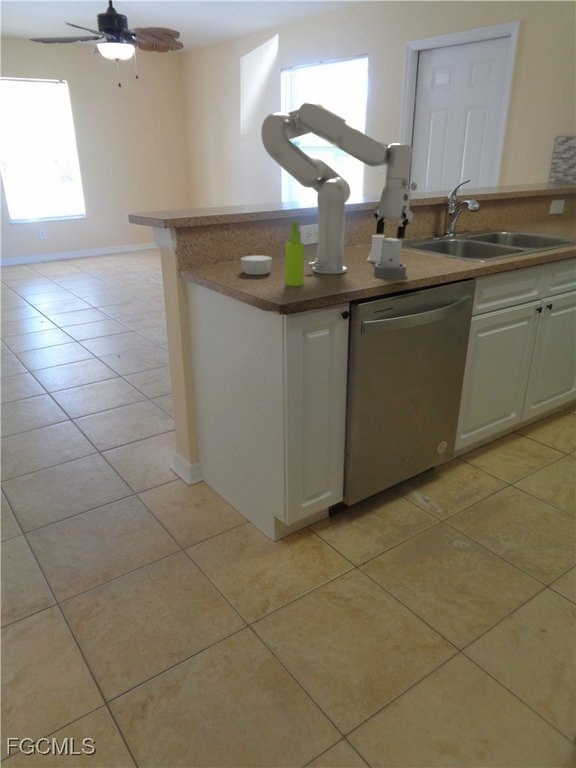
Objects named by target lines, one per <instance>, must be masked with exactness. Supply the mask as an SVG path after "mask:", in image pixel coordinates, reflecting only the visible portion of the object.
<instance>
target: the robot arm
mask: <svg viewBox="0 0 576 768" xmlns="http://www.w3.org/2000/svg"><path fill="white" fill-rule="evenodd" d="M310 133H312V134H314V135H315V136H318V137H319V138H321V139H322V140H324V141H325V142H327V143H329V144H330V145H332V146H334V147H335V148H337V149H339V150H341V151H343V152H344V153H346V154H348V155H349V156H351V157H352V158H354V159H356V160H358V161H360V162H362V163H363V164H365V165H366V166H370V167H374V168H375V167H381V166H386V170H385V171H386V174H385V181H384V186H383V188H382V192H381V196H380V199H379V204H378V205H376V206H375V207H373V213H374V214H373V215H374V218H375V222H377V223H376V230H375V231H376V232H375V233H376V234H375V235H383V234H384V233H385V232H384V231H385V223H386V222H385V220H386V219H389V220H390V219H391V220H394V221H395V220H396V221H397V223H398V224H399V225H398V226H397V233H396V239H404V238H405V236H406V228H407V227H408V226H409V224H410V222H412V219H413V217H414V213H413V212H412V211H411V210H410V189H409V188H408V187H409V186H410V181H409V177H410V170H411V162H412V156H413V147H412V145H411V144H407V143H386V142H381V141H378V140H375V139H374V138H372V137H370V136H368V135H367V134H364V133H363V132H361V131H359V129H356V127H354V126H353V125H352V124H351V123H350V122H349V121H348V120H346V119H345V118H342V117H341V116H339V115H337V114H335V113H334V112H332V111H330V110H328V109H327V108H325V107H324V106H323V105H322V104H319V103H317V102H314V101H305V102H304V103H302V104H301V106H300V107H299V108H298V109H296V110H293V111H289V112H286V113H283V112H273V113H269V114H268V115H267V116H266V117H265V118H264V120H263V122H262V125H261V133H260V135H261V142H262V145H263V147H264V150H265V151H266V153H267V154H268V155H269V157H270V158H272V159H273V161H274V162H276V164H278V165H279V166H280V167H281V168H282V169H283V170H284V171H285V172H287V173H288V174H289V175H290V176H291V177H292V178H294V180H296V181H297V183H299V184H300V185H301V186H303V187H305V188H309V189H310V188H312V189H313V190H315V192H317V214H318V215H317V249H316V250H317V251H316V252H317V253H316V254H317V255H316V258H314V261H313V262H312V261H311V262H310V261H309V262H307V263H306V267H307V268H308V269H311V268H312V271H313V272H315V273H318V274H324V275H337V274H344V273H347V271H348V268H347V266H344V252H345V250H344V249H345V226H346V203H347V201H348V200H349V199H350V196H351V186H350V185H349V183H348V182H347V180H345V179H344V178H343V177H342V176H341V175H339V173H337V171H335V170H334V169H333V168H332V167H330V166H329V165H328V164H327V163H326V162H325V161H322V159H319V158H316V157H315V158H314V157H310V156H309V155H308V154H306V153H305V152H304V151H303V150H302V149H301V148H300V147H299V146H297V145H296V144H294V143H293V142H292V141H291V140H292V139H296V138H298V137H301V136H304V135H308V134H310Z"/></svg>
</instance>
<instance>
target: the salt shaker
mask: <svg viewBox="0 0 576 768" xmlns="http://www.w3.org/2000/svg"><path fill="white" fill-rule="evenodd" d="M371 237H372V238H371V239H372V242H371V243H372V244H371V249H370V251H369V255H368V257H367V258H366V259H367V260H366V261H367V262H368V263H372V262H373V263H374V264H375V263H380V259H381V249H382V240H383V239H385V235H383V234H373V235H371Z"/></svg>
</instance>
